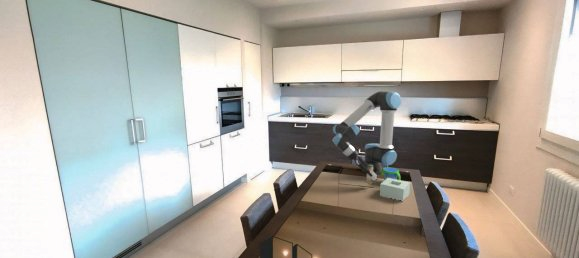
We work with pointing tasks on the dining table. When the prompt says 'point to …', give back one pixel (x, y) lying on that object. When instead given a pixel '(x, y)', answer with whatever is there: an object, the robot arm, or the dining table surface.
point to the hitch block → (394, 189)
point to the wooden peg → (369, 179)
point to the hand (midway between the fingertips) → (375, 178)
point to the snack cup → (390, 173)
